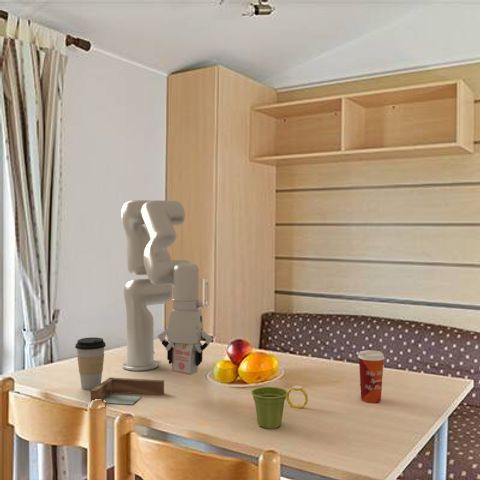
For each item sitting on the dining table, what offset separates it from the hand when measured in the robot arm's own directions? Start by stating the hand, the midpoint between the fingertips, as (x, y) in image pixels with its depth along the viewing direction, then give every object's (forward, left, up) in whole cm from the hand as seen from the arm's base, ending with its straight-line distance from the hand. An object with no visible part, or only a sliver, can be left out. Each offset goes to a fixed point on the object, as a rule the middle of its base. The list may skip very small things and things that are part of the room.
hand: (184, 363), depth 168 cm
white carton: (0, 0, -3) cm, 3 cm away
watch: (+3, +34, -11) cm, 35 cm away
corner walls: (+4, -16, -10) cm, 20 cm away
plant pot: (+18, +28, -11) cm, 35 cm away
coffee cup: (-5, -32, -11) cm, 34 cm away
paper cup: (-7, +55, -11) cm, 56 cm away
